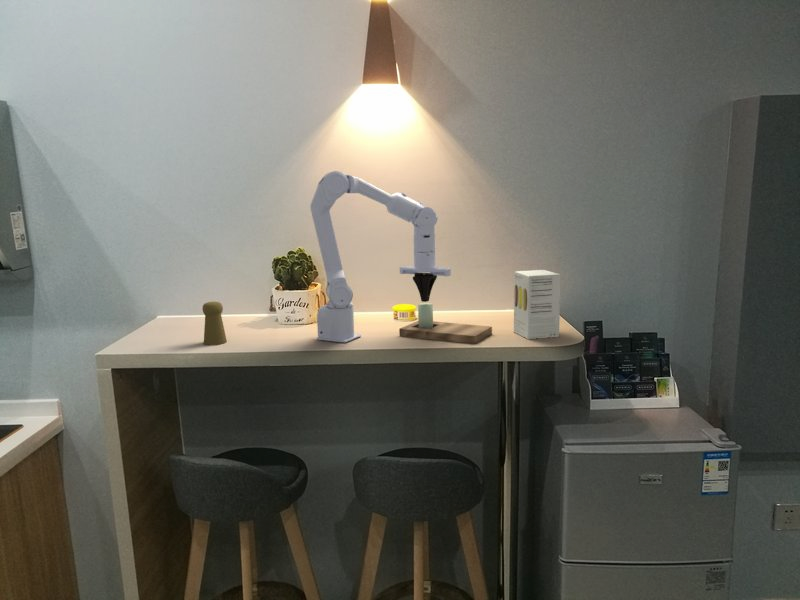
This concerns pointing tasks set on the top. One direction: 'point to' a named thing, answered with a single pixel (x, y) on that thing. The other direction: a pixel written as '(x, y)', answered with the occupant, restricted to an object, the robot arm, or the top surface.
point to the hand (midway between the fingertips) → (425, 301)
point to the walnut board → (448, 332)
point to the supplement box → (536, 303)
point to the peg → (425, 315)
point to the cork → (213, 324)
